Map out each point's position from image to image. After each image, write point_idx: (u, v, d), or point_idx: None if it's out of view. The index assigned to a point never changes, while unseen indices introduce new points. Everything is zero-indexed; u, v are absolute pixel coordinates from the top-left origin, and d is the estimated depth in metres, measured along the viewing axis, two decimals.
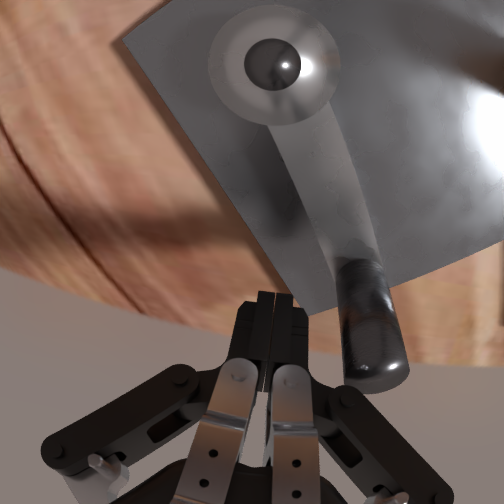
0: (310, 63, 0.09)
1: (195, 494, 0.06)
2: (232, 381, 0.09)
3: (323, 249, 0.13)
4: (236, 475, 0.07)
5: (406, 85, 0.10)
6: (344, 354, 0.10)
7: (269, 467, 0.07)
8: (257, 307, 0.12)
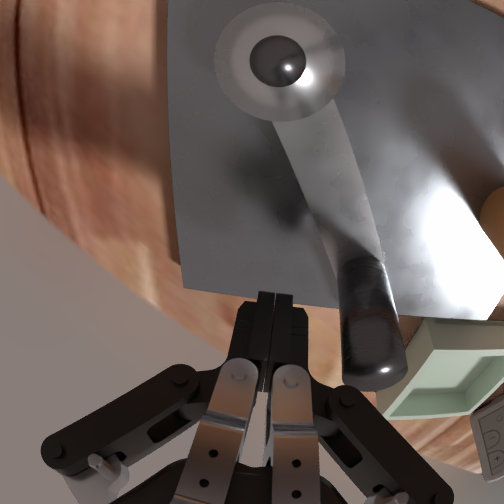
0: (315, 60, 0.09)
1: (195, 494, 0.06)
2: (232, 381, 0.09)
3: (325, 246, 0.13)
4: (236, 475, 0.07)
5: (382, 142, 0.12)
6: (343, 350, 0.10)
7: (269, 467, 0.07)
8: (257, 307, 0.12)
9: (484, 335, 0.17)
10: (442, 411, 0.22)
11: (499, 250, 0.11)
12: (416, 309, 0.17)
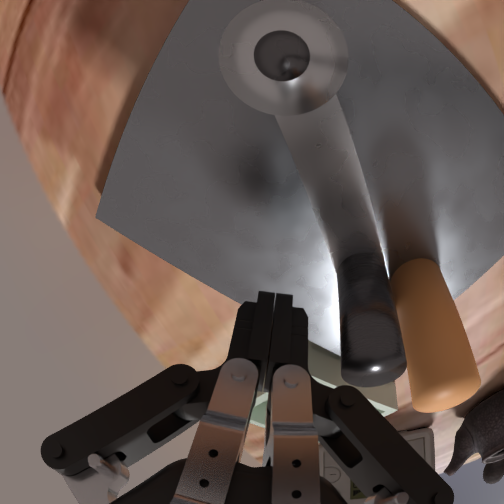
0: (318, 56, 0.09)
1: (195, 494, 0.06)
2: (232, 381, 0.09)
3: (326, 241, 0.13)
4: (236, 475, 0.07)
5: None
6: (342, 345, 0.10)
7: (269, 467, 0.07)
8: (257, 307, 0.12)
9: None
10: None
11: (398, 311, 0.14)
12: None
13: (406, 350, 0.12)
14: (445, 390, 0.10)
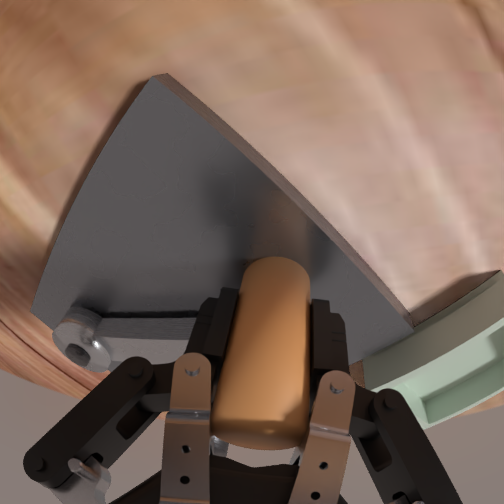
0: (74, 341, 0.17)
1: (180, 492, 0.06)
2: (184, 374, 0.09)
3: None
4: (236, 475, 0.07)
5: None
6: None
7: (269, 467, 0.07)
8: (218, 303, 0.12)
9: (435, 338, 0.16)
10: (490, 391, 0.17)
11: None
12: None
13: None
14: (241, 436, 0.09)
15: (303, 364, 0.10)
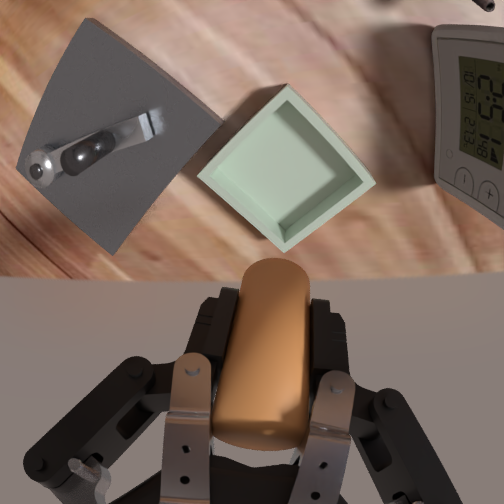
0: (36, 160, 0.26)
1: (180, 492, 0.06)
2: (184, 374, 0.09)
3: None
4: (236, 475, 0.07)
5: None
6: None
7: (269, 467, 0.07)
8: (218, 303, 0.12)
9: (239, 130, 0.25)
10: (333, 204, 0.27)
11: None
12: (172, 170, 0.28)
13: None
14: (241, 437, 0.09)
15: (303, 365, 0.10)
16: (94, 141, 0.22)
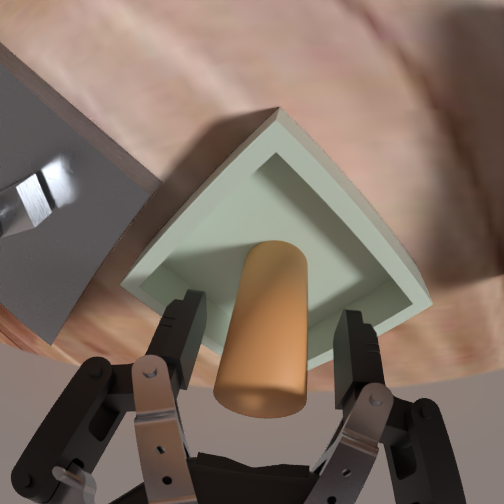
0: None
1: (166, 494, 0.06)
2: (141, 376, 0.09)
3: None
4: (236, 475, 0.07)
5: None
6: None
7: (269, 467, 0.07)
8: (182, 305, 0.12)
9: (184, 206, 0.13)
10: None
11: None
12: (90, 262, 0.16)
13: None
14: (244, 401, 0.10)
15: (301, 333, 0.11)
16: None
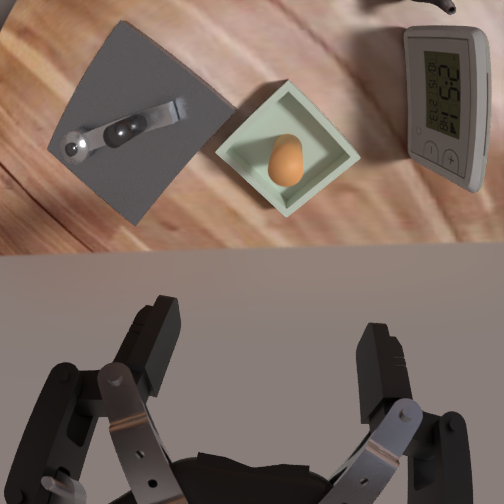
0: (71, 139, 0.32)
1: (154, 496, 0.05)
2: (106, 383, 0.08)
3: None
4: (236, 475, 0.07)
5: None
6: None
7: (269, 467, 0.07)
8: (151, 312, 0.11)
9: (250, 116, 0.31)
10: (326, 175, 0.32)
11: None
12: (193, 148, 0.34)
13: None
14: (279, 173, 0.27)
15: (299, 153, 0.28)
16: (131, 121, 0.28)
